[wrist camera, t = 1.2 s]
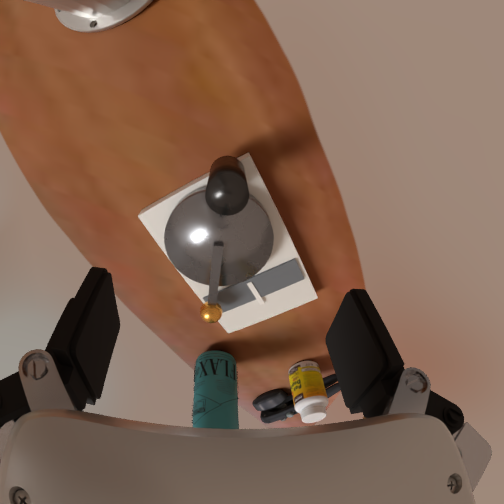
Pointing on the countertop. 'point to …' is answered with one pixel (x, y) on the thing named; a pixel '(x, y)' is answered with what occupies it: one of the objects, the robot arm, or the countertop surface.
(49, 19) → the countertop surface
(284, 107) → the countertop surface
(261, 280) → the stand
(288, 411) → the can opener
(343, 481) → the robot arm
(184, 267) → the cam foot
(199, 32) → the countertop surface
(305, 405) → the supplement bottle
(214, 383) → the beverage bottle
